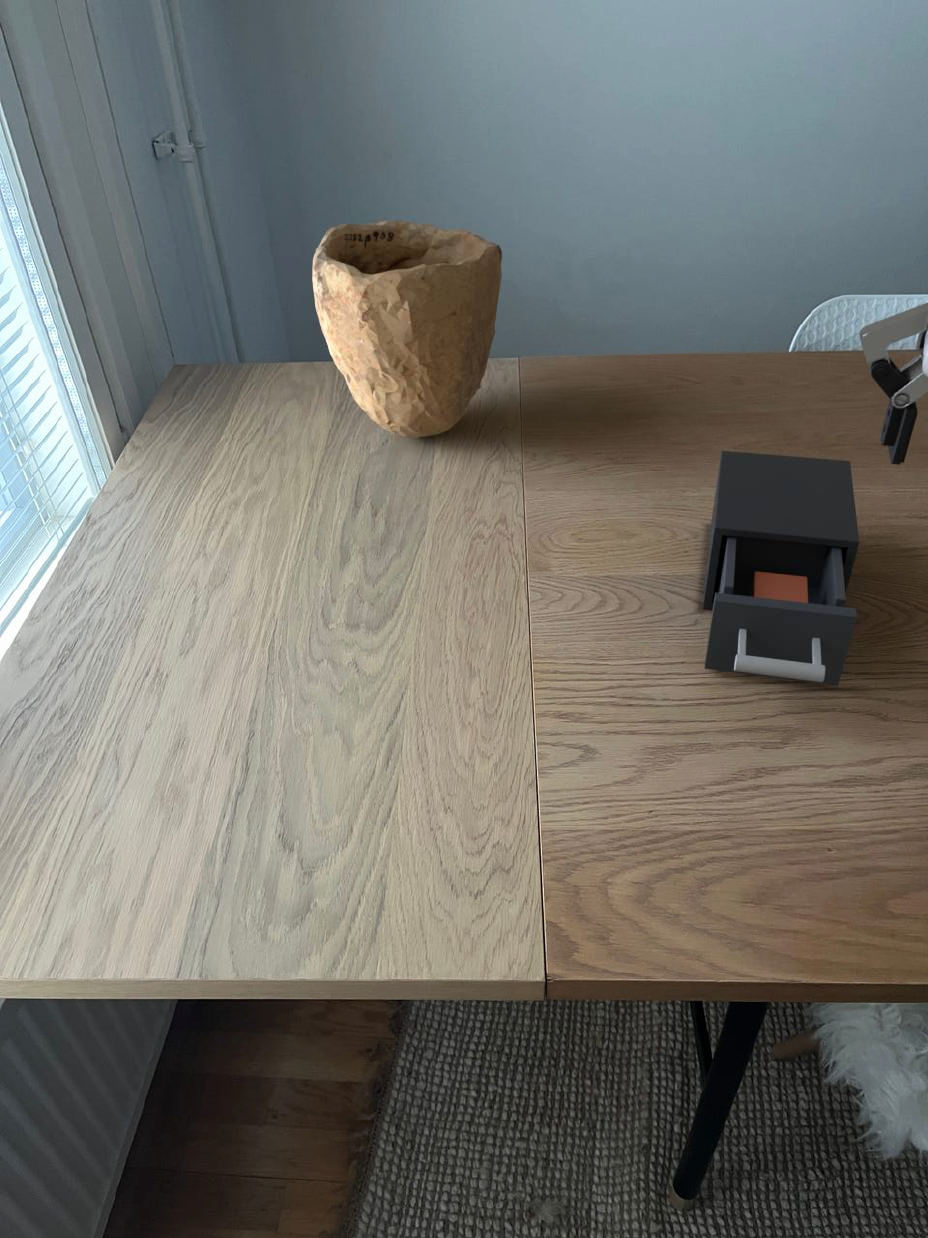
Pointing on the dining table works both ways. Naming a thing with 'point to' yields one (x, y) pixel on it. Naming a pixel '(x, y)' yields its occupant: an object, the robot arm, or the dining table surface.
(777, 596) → the block
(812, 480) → the drawer cabinet
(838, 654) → the dark grey drawer
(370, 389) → the rough clay pot
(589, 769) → the dining table surface
